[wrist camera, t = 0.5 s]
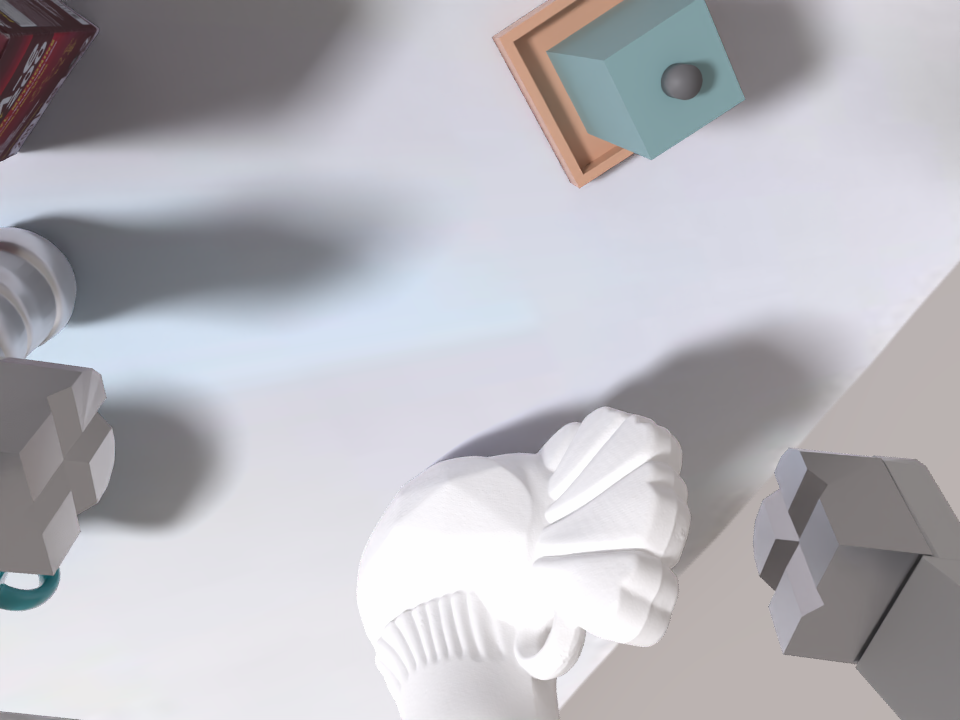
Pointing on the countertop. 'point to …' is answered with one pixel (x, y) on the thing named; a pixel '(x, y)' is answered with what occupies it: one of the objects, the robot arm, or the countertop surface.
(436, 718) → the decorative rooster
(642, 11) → the cover
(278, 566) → the countertop surface
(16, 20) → the supplement box
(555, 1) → the dish
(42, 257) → the metal bottle
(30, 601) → the cup
